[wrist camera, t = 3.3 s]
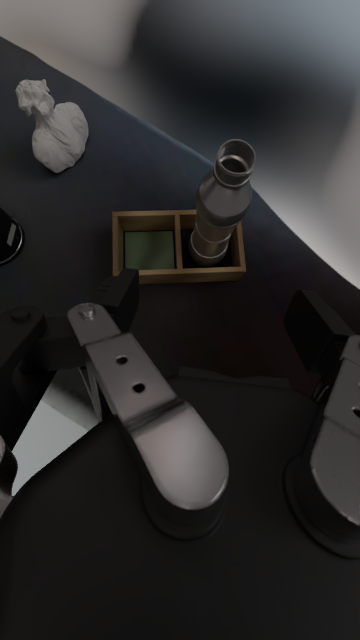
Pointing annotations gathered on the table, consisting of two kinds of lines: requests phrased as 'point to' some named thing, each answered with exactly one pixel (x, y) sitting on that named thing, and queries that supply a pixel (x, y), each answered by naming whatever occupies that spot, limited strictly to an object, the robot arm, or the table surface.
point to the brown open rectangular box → (166, 248)
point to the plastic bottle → (222, 202)
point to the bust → (53, 126)
